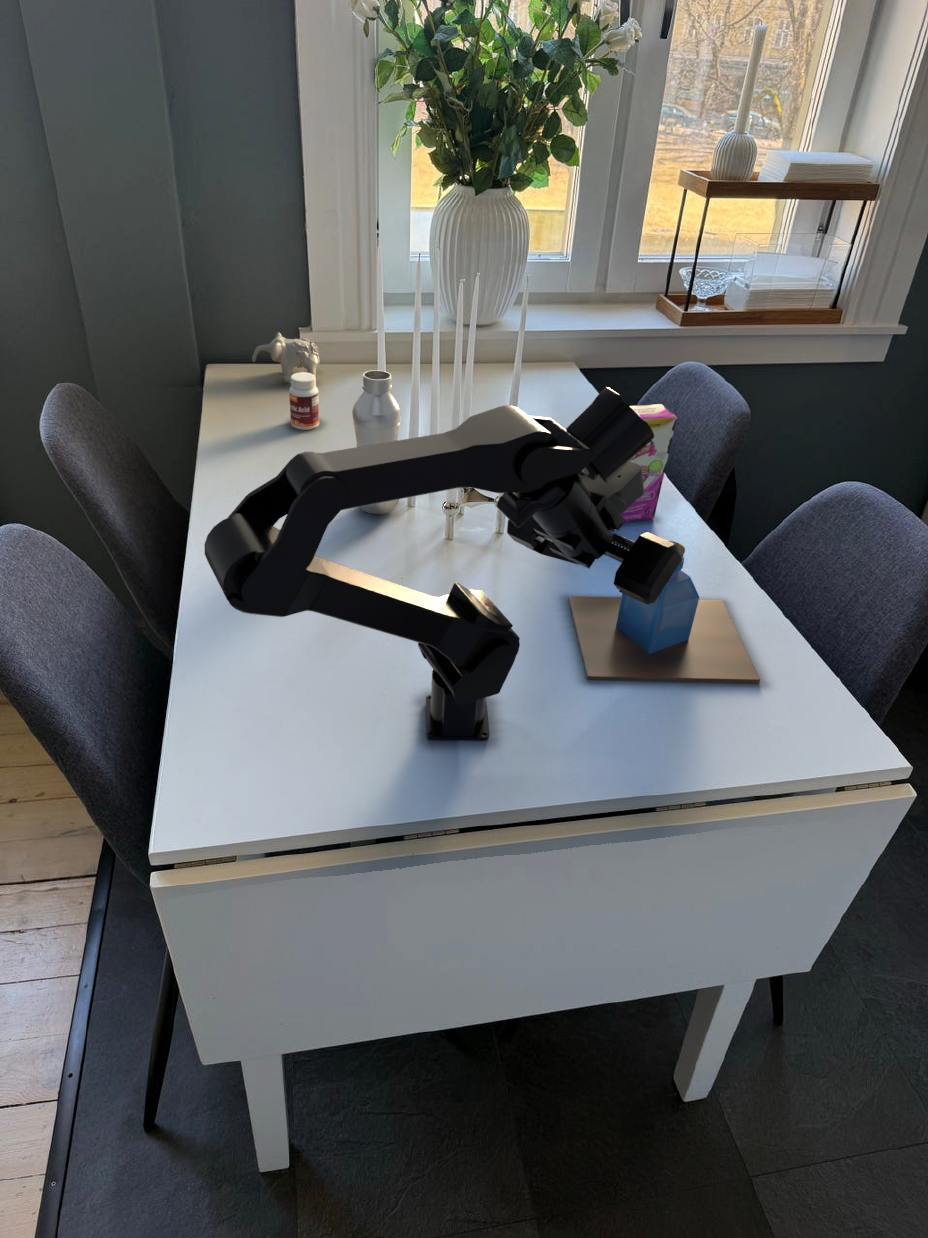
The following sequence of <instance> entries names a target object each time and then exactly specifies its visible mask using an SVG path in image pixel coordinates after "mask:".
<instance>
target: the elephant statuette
mask: <svg viewBox="0 0 928 1238" xmlns="http://www.w3.org/2000/svg"><path fill="white" fill-rule="evenodd" d="M319 349H320V347H319V346H317V345H316V344H315V343H314V342H313V341H312V342H311V341H310V340H309V339H307V338H306V337H302V338H296V337H295V338H294V339H292V338H286V337H284V336H282V334H281V333H280V331H276V333H275V334H274V339H272V340H271V341H270V342H269V343H267V344H262V345H258V346H256V347H255V349H254V352H253V355H252V356H251V361H252V362H253V363H255V362H256V361H257V356H258V354H259V353H260V352H261V351H262V352H263V351H264V352H268V354H270V359H271V360H272V361H273V362H276V363H279V364H280V366H281V370H282V373H283V381H284V382H285V383H287V384H291V376H292V375H293V371H294V370H295V368H297V369H299V368H300V369H301V368H304V369H306V372H307V373H311V374H313V375H315V377H316V375H317V368H318V366H320V364H321V363H320V362H321V361H320V356H319ZM316 378H317V377H316Z"/></svg>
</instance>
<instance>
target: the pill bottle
mask: <svg viewBox="0 0 928 1238" xmlns="http://www.w3.org/2000/svg"><path fill="white" fill-rule="evenodd" d="M288 394H289V413H290V425H291V426H292V427H293V428H294V429H298V430H304V431H308V430H312V429H315V428H317V427H319V425H320V407H319V406H320V405H319V404H320V403H319V388H318V387H317V377H315V375H313V374H311V373H308V372H307V371H306V372H305V371H299V372H295V373H292V376H291V383H290V387H289V390H288Z"/></svg>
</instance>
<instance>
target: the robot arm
mask: <svg viewBox="0 0 928 1238" xmlns="http://www.w3.org/2000/svg"><path fill="white" fill-rule="evenodd" d="M630 406H631V405H629V404H628V403H626V402H625V400H624V399H623V397H622V396H621V394H620V393H618V392H616V391H615V390H613V389H611V387H609V386H608V387H607V386H606V387H605V388H604V389H603V390H601V392H599V393H598V394H597V396H596V397H595V398H594V400H593V401H592V402H591V403H590V405H588V406H587V408H585V410H583V411H582V413H580V414H579V415H578V416H577V417H576V418H575V419H574V420H573V421H572V422H571V423H570V424H569V425H568V426H567V427H566V428H564V427H563V426H561V425H560V423H558V422H556V421H555V420H554V419H552V418H551V417H544V416H536V415H528V414H527V413H526V412H524V410H522V409H520V408H519V407H518V406H515V405H514V406H513V405H509V404H508V405H506V404H505V405H501V406H497V407H494V408H492V409H488V410H485V411H482V412H479V413H477V414H474V415H471V416H469V417H468V418H467V419H465V420H464V421H463V422H461V424H460V425H458V426H457V427H455V428H454V429H451V430H447V431H445V432H442V433H435V434H430V435H424V436H422V435H421V436H417V437H412V438H405V439H399V440H398V439H397V441H392V442H386V443H380V444H374V445H368V446H362V447H357V446H356V447H349V448H344V449H337V450H332V451H326V452H315V451H303V452H300V453H297V454H296V455H294V456H293V457H292V458H291V459H290V460H289V461H288V462H287V463H286V464H285V466H283V468H282V470H280V472H279V473H278V474H277V475H276V476H275V477H273V478H271V479H270V480H268V481H266V482H265V483H263V484H262V485H260V486H258V487H257V488H255V489H253V490H251V491H250V492H249V493H248V494H246V495H245V496H244V498H243V499H242V500H241V501H240V502H239V503H238V505H237V506H236V507H235V508H234V509H233V511H231V513H230V514H229V516H227V517H226V518H224V519H222V520H221V521H219V522H218V523H217V524H216V525H214V526H213V527H212V528H211V530H210V531H209V533H208V534H207V536H206V538H205V542H204V547H203V548H204V556H205V559H206V560H207V563H208V565H209V567H210V569H211V571H212V573H213V575H214V577H215V579H216V581H217V583H218V585H219V587H220V589H221V591H222V592H223V595H224V597H225V598H226V600H227V602H228V604H229V605H230V606H231V607H232V608H233V609H235V610H237V611H238V612H240V613H242V614H249V615H256V616H257V615H258V616H266V617H276V618H285V617H289V616H291V615H295V614H299V613H302V612H313V613H316V614H319V615H324V616H327V617H331V618H333V619H337V620H340V621H344V622H347V623H351V624H354V625H357V626H360V627H364V628H366V629H367V628H368V629H371V630H374V631H378V632H382V633H385V634H389V635H392V636H396V637H398V638H402V639H406V640H409V641H412V642H415V643H417V646H418V649H419V651H420V654H421V656H422V657H423V659H424V660H426V662H428V664H429V665H430V667H431V668H432V671H431V686H430V687H431V689H430V695H426V696H425V737H426V739H427V740H429V741H477V742H478V741H479V742H480V741H481V742H483V741H488V740H489V739H490V726H489V725H490V724H489V715H488V703H487V698H488V697H492V696H496V695H499V693H501V690H502V688H503V686H504V684H505V682H506V680H507V678H508V676H509V674H510V671H511V669H512V667H513V666H514V664H515V661H516V658H517V656H518V654H519V651H520V646H521V645H520V644H521V641H520V639H521V638H520V636H519V635H518V634H517V632H515V631H514V629H513V627H514V625H513V623H512V622H511V621H510V619H508V618H507V617H506V616H505V614H504V613H502V611H501V610H500V609H499V608H498V607H497V605H495V604H494V602H493V601H492V600H491V599H490V598H489V596H488V595H487V594H486V593H485V592H484V591H483V590H482V589H471V588H468V587H465V586H464V585H462V584H460V583H459V582H454V583H453V585H452V587H451V589H450V592H449V593H446V594H444V595H440V596H433V595H430V594H428V593H425V592H422V591H419V590H416V589H414V588H410V587H407V586H404V585H401V584H398V583H395V582H393V581H390V580H386V579H383V578H380V577H378V576H375V575H371V574H368V573H366V572H363V571H360V570H357V569H354V568H351V567H348V566H346V565H342V564H339V563H336V562H333V561H331V560H328V559H325V558H322V557H319V556H317V555H316V553H317V551H318V549H319V546H320V544H321V542H322V540H323V538H324V536H325V533H326V530H327V528H328V526H329V525H330V524H331V523H332V521H333V520H334V519H335V518H336V517H337V515H338V514H339V513H340V512H341V511H345V510H350V509H356V508H359V507H361V506H366V505H372V504H377V503H382V502H387V501H393V500H398V499H399V500H403V499H407V498H413V497H418V496H424V495H428V494H433V493H438V492H445V491H449V490H454V489H466V488H467V489H470V488H471V489H476V490H482V491H486V492H491V493H496V494H501V495H500V497H499V498H498V500H497V503H496V508H497V509H498V510H499V511H500V512H501V513H502V515H504V516H505V517H506V518H507V526H506V533H507V535H508V536H509V537H510V538H511V539H512V540H513V541H514V542H516V543H518V544H520V545H521V546H524V547H525V548H527V549H529V550H531V551H533V552H535V553H538V554H540V555H543V556H546V557H548V558H553V559H556V560H560V561H564V562H567V563H571V564H574V565H579V566H582V567H584V568H586V569H589V570H590V569H591V567H592V565H593V564H594V562H595V561H596V560H598V559H601V558H602V557H604V556H606V557H608V558H609V559H613V560H615V561H617V562H619V563H620V565H619V566H618V568H617V569H616V571H615V573H614V578H613V579H614V580H613V585H614V587H615V588H616V589H617V590H618V592H619V593H621V594H622V593H623V594H625V595H627V596H629V597H631V598H633V599H635V600H637V601H640V602H642V603H644V604H647V605H648V604H651V603H654V602H655V601H656V600H657V598H658V596H659V595H660V593H661V592H662V590H663V589H664V587H665V585H666V584H667V582H668V581H669V579H670V578H671V576H672V575H673V573H674V571H675V570H676V568H677V567H678V565H679V564H680V562H681V561H682V556H681V552H680V550H679V549H678V547H677V545H676V544H675V543H672V542H670V541H671V540H667V539H665V538H662V537H660V536H658V535H655V534H653V533H651V532H648V531H646V532H644V533H642V534H639V535H638V537H637V539H636V540H635V541H634V540H632V539H629V538H627V537H624V536H623V535H620V534H617V533H615V531H617V532H619V531H620V530H621V529H622V527H623V525H624V524H625V523H626V522H625V519H624V518H623V516H622V515H621V513H623V512H624V511H625V510H627V509H628V508H629V507H630V506H631V505H632V504H633V503H634V502H635V501H636V500H637V499H638V498H640V497H641V496H642V495H643V494H644V485H643V477H642V469H641V466H640V465H639V464H637V463H634V462H632V461H630V460H631V459H632V458H633V457H634V456H635V455H636V454H637V453H638V452H639V451H641V450H642V449H643V448H644V447H645V446H646V445H647V444H648V443H649V442H650V441H651V440H652V439H653V438H654V433H653V431H652V429H651V427H650V426H649V424H648V423H647V422H646V421H644V420H643V419H641V418H640V417H639V416H638V414H637V413H636V412H635V411H634V410H633V409H632V408H631V407H630ZM285 516H286V517H285ZM283 517H285V518H284V521H283V523H282V525H281V527H280V529H279V528H277V527H275V525H276V523H278V521H279V520H280V519H282V518H283Z"/></svg>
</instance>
